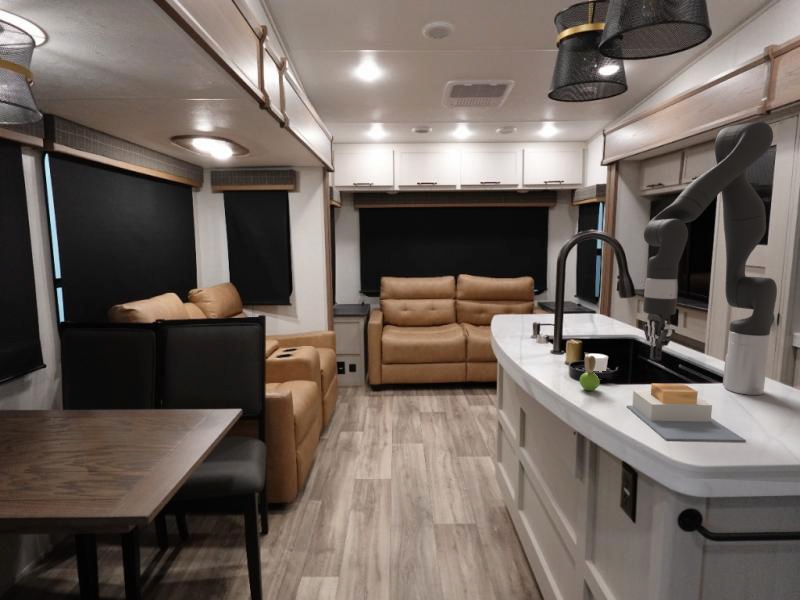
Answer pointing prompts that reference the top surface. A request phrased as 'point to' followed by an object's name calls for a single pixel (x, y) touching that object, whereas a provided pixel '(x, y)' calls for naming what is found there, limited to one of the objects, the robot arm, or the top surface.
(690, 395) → the orange flat block
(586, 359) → the green maraca
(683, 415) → the white rectangular block
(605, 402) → the top surface
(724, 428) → the mat
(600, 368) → the white chunky block
